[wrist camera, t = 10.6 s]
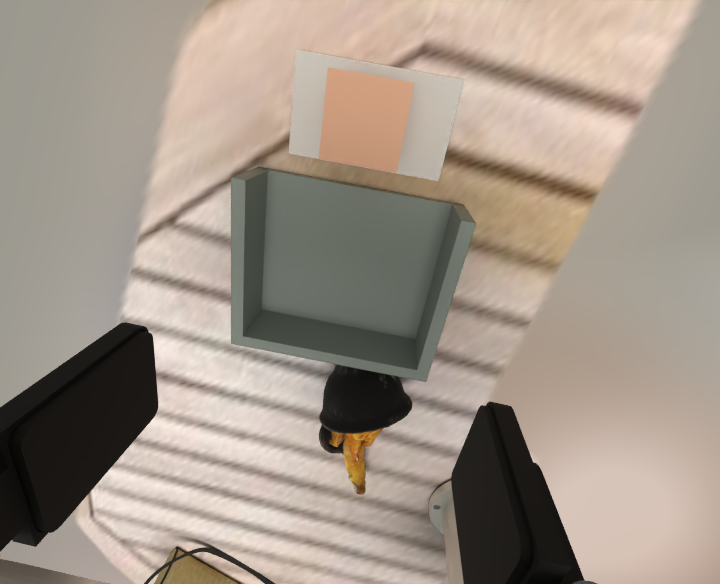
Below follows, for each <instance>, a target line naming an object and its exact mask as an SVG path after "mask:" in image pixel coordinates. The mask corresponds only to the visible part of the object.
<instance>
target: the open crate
mask: <svg viewBox="0 0 720 584" xmlns="http://www.w3.org/2000/svg"><path fill="white" fill-rule="evenodd" d="M475 225H476V223H475V221H474V220H473V218H472V217H471V215H470V214H469V212H468V211H467V209H466V208H465V206H464V205H462V204H457V203H451V202H446V201H440V200H435V199H430V198H424V197H419V196H414V195H408V194H403V193H397V192H392V191H387V190H381V189H376V188H371V187H365V186H360V185H354V184H349V183H344V182H338V181H333V180H328V179H322V178H317V177H311V176H306V175H301V174H295V173H290V172H285V171H279V170H274V169H268V168H263V167H257V168H255V169H252V170H250V171H247V172H245V173H242V174H240V175H237V176H235V177H232V178H231V344H235V345H240V346H245V347H250V348H256V349H261V350H266V351H271V352H276V353H281V354H286V355H291V356H297V357H302V358H307V359H312V360H317V361H322V362H327V363H332V364H337V365H343V366H348V367H353V368H358V369H363V370H368V371H373V372H378V373H384V374H389V375H394V376H399V377H404V378H409V379H414V380H419V381H424V382H426V381H427V377H428V374H429V371H430V368H431V365H432V362H433V358H434V355H435V352H436V349H437V346H438V343H439V339H440V336H441V333H442V330H443V327H444V323H445V320H446V317H447V314H448V311H449V308H450V304H451V301H452V298H453V295H454V292H455V289H456V285H457V282H458V279H459V276H460V273H461V270H462V266H463V263H464V260H465V257H466V254H467V250H468V247H469V244H470V241H471V238H472V235H473V231H474V228H475Z"/></svg>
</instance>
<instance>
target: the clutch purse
mask: <svg viewBox="0 0 720 584" xmlns="http://www.w3.org/2000/svg"><path fill="white" fill-rule="evenodd" d="M197 552H208V553H211V554H214V555H217V556H219V557H221V558H223V559H226V560H228V561H230V562H232V563H234V564H236V565H238V566H239V567H241V568H243V569H245V570H246V571H248V572H250V573H251V574H253V575H254V576H256V577H257V578H258V579H260V580H261V581H262V582H263V583H265V584H273V583H272V582H270V581H269V580H268V579H266V578H265V577H264V576H262V575H261V574H260V573H258V572H256V571H255V570H253V569H251V568H249V567H248V566H246V565H245V564H243V563H241V562H240V561H238V560H236V559H235V558H233V557H231V556H228V555H226V554H224V553H222V552H219V551H217V550H214V549H211V548H198V549H195V550H192V551H189V552H187V553H184V552H182V551H180V550H179V548H178V547H176V548H175V549H174V550H173V551H172V553H171V554H170V556H169V557H168V559H167V561H166V563H165V564H164V565H163V566H162V567H161V568H159V569H158V570H157V571H156V572H155V573H154V574H152V575H151V576H150V577H149V578H148V580H147V581H146V582H145V583H144V584H148V583H149V582H150V581H151V580H152V579H153V578H154V577H155V576H156V575H157V574H158V573H159V572H160V571H161V572H160V574H159V575H158V577H157V579H156V581H155V583H154V584H238V583H236V582H235V581H233V580H231V579H229V578H228V577H226V576H224V575H222V574H221V573H219V572H217V571H215V570H214V569H212V568H210V567H208V566H207V565H205V564H203V563H201V562H200V561H198V560H196V559H194V558H193V557H191V556H189V555H190V554H193V553H197Z"/></svg>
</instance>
